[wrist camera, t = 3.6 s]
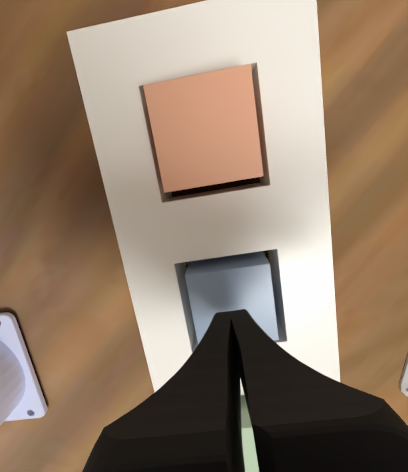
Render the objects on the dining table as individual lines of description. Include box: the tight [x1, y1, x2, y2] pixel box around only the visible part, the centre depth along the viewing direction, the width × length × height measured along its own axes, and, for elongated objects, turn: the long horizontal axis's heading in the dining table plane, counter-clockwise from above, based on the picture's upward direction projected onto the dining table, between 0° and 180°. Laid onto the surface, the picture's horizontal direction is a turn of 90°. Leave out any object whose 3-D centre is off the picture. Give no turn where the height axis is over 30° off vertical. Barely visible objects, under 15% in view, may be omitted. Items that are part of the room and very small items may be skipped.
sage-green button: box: [241, 395, 259, 472], centre depth 15 cm, size 4×4×3 cm
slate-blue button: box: [185, 251, 279, 344], centre depth 14 cm, size 4×4×3 cm
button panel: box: [67, 0, 340, 395], centre depth 15 cm, size 10×26×3 cm, turn 9°
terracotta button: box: [143, 64, 264, 193], centre depth 12 cm, size 4×4×3 cm
